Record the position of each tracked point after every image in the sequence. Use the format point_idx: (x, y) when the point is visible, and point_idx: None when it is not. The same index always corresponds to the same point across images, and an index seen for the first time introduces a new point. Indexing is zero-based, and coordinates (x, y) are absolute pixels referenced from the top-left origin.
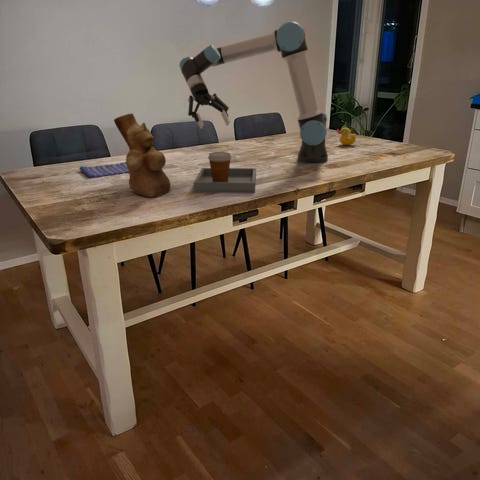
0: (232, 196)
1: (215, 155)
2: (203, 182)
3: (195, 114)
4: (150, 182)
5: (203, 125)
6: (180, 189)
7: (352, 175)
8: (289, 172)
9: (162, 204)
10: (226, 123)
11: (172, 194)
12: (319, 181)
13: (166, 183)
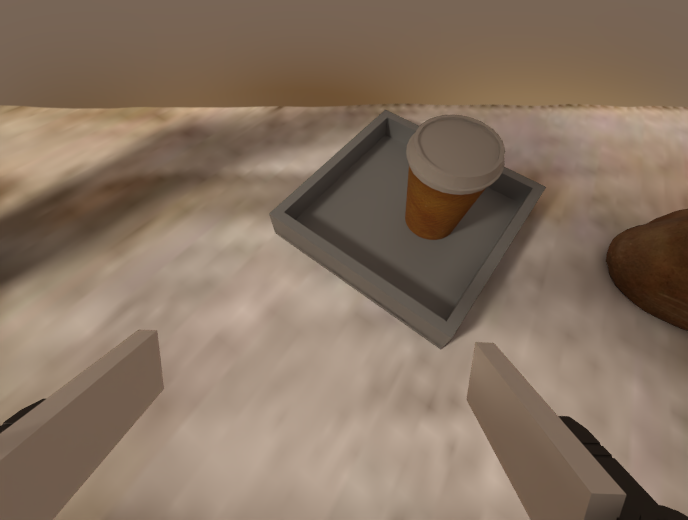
0: None
1: (478, 147)
2: (516, 174)
3: (638, 511)
4: None
5: (475, 351)
6: (565, 252)
7: (65, 114)
8: (145, 217)
9: (635, 173)
10: (154, 384)
11: (599, 224)
12: (179, 120)
13: (638, 226)
